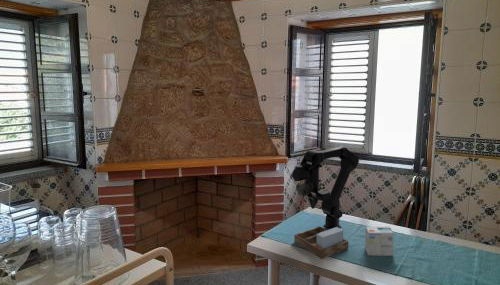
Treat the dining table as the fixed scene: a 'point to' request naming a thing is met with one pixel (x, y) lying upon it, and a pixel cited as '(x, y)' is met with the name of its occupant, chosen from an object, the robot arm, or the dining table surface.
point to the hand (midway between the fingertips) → (312, 208)
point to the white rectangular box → (329, 238)
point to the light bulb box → (379, 241)
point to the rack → (310, 243)
